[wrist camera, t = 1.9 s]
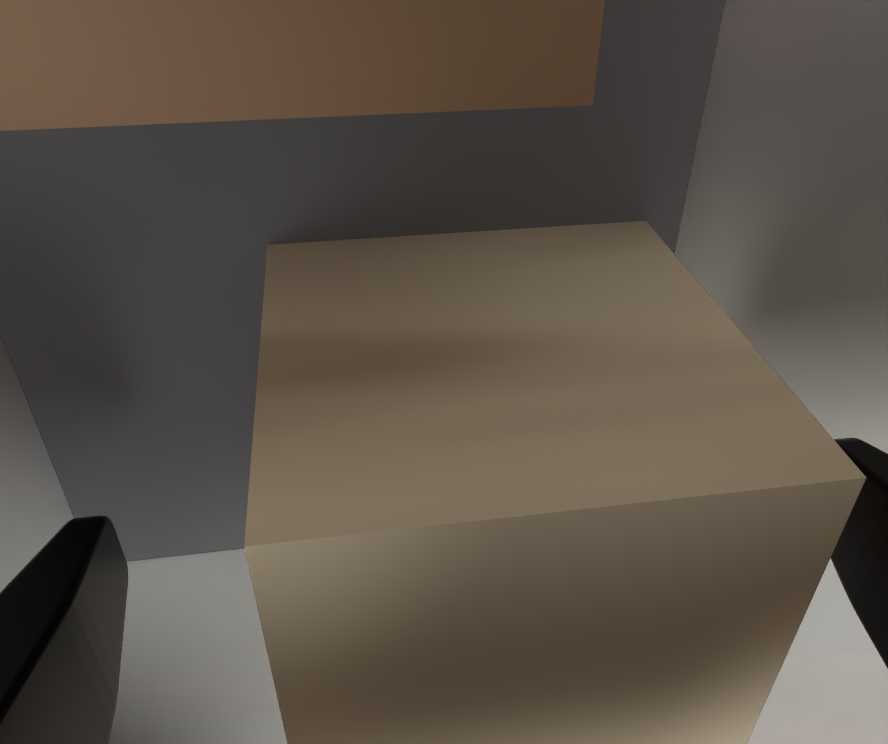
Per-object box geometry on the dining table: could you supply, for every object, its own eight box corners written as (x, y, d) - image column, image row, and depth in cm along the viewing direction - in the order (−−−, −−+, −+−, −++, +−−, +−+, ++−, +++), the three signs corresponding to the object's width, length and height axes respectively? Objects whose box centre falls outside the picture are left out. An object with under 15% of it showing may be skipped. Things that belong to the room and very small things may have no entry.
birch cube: (599, 488, 13) (730, 780, 9) (307, 520, 13) (310, 848, 9) (645, 220, 10) (866, 476, 6) (267, 244, 10) (243, 546, 6)
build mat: (615, 490, 14) (623, 506, 14) (98, 546, 13) (92, 565, 12) (984, -1460, 5) (1038, -1563, 4) (-848, -1901, 3) (-963, -2073, 3)
